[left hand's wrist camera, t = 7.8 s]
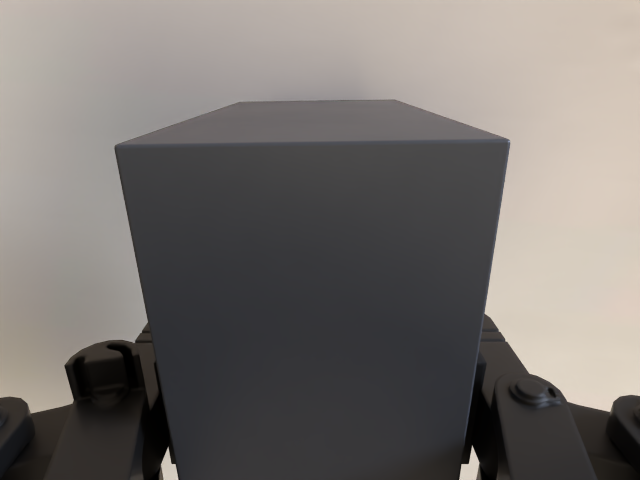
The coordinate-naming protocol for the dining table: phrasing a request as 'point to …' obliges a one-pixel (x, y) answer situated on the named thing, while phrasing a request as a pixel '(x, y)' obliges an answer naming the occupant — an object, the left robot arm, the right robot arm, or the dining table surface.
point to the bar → (315, 285)
